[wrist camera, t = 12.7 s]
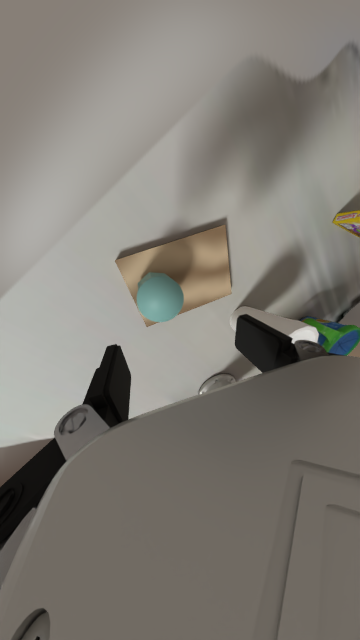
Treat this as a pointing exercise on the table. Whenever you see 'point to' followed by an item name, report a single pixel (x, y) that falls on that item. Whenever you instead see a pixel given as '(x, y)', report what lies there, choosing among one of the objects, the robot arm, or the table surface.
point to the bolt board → (184, 267)
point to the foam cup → (279, 324)
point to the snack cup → (335, 335)
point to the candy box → (349, 221)
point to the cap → (159, 297)
